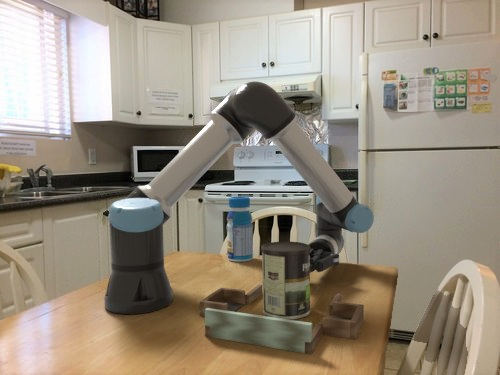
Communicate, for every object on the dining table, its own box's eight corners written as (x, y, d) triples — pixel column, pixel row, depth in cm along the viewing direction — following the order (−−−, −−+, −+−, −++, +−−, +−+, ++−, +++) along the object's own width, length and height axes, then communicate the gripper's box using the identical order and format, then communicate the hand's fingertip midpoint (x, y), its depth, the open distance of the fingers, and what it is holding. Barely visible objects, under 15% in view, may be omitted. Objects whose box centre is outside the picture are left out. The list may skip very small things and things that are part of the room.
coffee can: (311, 303, 94) (311, 241, 93) (309, 321, 84) (308, 252, 83) (266, 301, 97) (265, 240, 95) (258, 318, 86) (257, 250, 85)
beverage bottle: (244, 263, 130) (243, 199, 129) (221, 260, 135) (220, 198, 133) (258, 257, 138) (257, 196, 136) (236, 255, 142) (235, 195, 141)
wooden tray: (177, 331, 81) (176, 305, 80) (236, 289, 105) (235, 270, 105) (347, 360, 68) (347, 330, 68) (368, 306, 92) (369, 283, 92)
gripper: (345, 266, 115) (325, 293, 94) (298, 262, 120) (270, 286, 99) (345, 239, 115) (325, 259, 93) (298, 236, 120) (270, 255, 98)
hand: (297, 273), depth 96 cm, fingers closed
